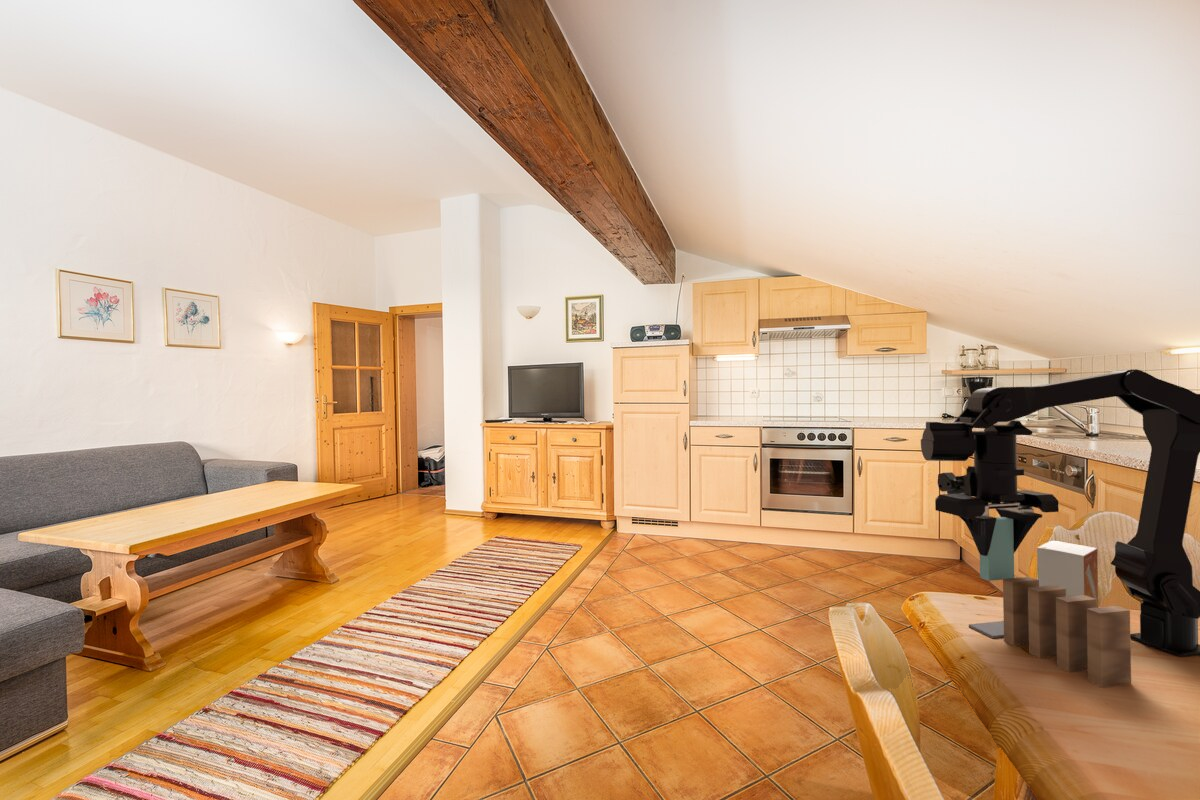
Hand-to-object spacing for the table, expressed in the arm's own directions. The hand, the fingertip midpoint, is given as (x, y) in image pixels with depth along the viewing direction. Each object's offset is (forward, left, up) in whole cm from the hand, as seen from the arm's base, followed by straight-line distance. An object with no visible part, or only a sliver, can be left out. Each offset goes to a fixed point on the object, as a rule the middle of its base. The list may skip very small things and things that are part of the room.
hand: (996, 554), depth 85 cm
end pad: (0, 0, -13) cm, 13 cm away
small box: (-15, 0, -13) cm, 20 cm away
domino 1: (0, 0, -4) cm, 4 cm away
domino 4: (0, +12, -13) cm, 18 cm away
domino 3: (0, +8, -13) cm, 15 cm away
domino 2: (0, +4, -13) cm, 14 cm away
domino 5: (0, +16, -13) cm, 21 cm away
